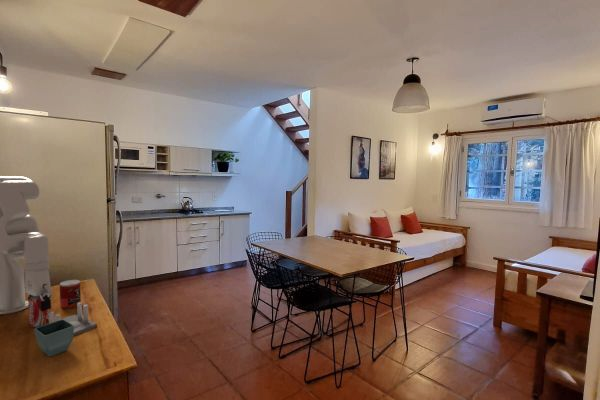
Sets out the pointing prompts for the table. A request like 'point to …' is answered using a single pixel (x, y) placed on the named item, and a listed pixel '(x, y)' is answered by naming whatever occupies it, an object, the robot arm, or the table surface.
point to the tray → (76, 319)
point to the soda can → (37, 312)
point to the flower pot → (54, 337)
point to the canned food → (70, 294)
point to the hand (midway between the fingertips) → (39, 307)
